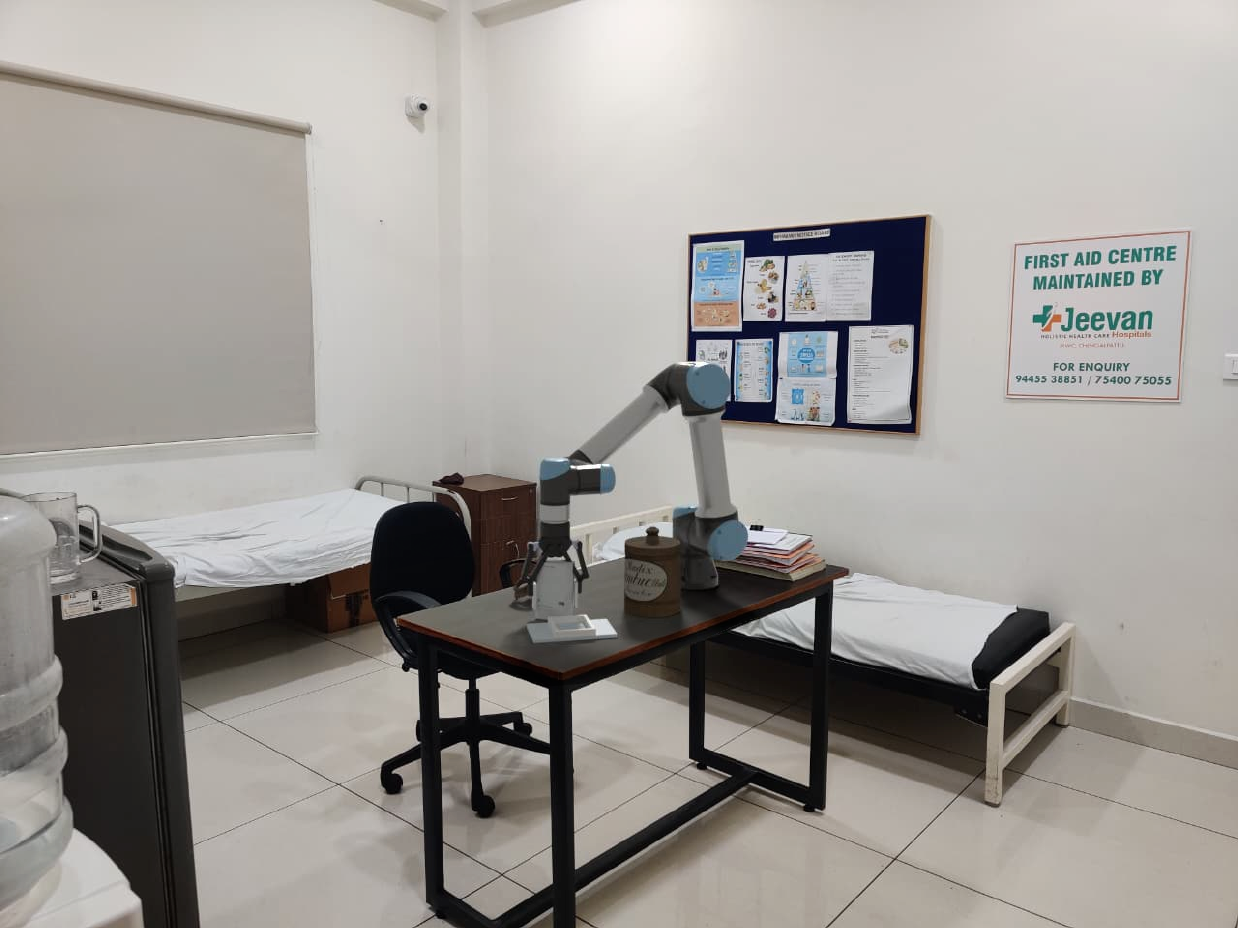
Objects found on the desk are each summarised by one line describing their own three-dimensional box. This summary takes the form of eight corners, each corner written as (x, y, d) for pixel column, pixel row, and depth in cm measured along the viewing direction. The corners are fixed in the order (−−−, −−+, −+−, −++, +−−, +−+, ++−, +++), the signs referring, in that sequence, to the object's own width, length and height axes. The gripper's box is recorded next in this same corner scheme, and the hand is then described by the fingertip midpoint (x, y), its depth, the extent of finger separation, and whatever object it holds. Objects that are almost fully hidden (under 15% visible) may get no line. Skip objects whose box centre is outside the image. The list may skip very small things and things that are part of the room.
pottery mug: (552, 607, 235) (537, 582, 232) (521, 620, 237) (506, 596, 235) (557, 584, 246) (543, 560, 244) (528, 597, 248) (513, 573, 246)
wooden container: (612, 611, 231) (613, 528, 228) (644, 597, 243) (645, 519, 240) (660, 621, 222) (662, 535, 219) (690, 607, 234) (692, 525, 231)
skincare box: (534, 618, 223) (534, 561, 221) (545, 612, 229) (545, 555, 227) (565, 623, 220) (565, 564, 218) (575, 616, 226) (575, 559, 224)
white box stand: (606, 621, 221) (606, 612, 221) (617, 637, 210) (617, 627, 210) (526, 626, 217) (526, 617, 217) (533, 643, 205) (533, 633, 205)
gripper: (595, 515, 227) (595, 600, 230) (508, 519, 222) (508, 605, 225) (602, 521, 220) (601, 608, 223) (511, 525, 215) (512, 614, 218)
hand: (554, 607), depth 224 cm, fingers closed on skincare box, 10 cm apart
